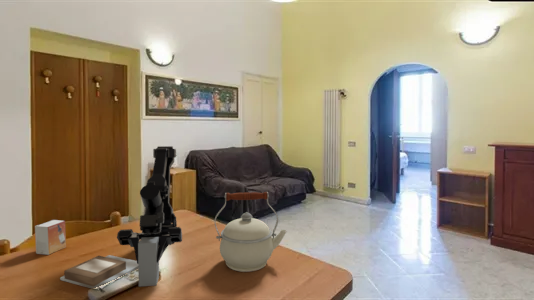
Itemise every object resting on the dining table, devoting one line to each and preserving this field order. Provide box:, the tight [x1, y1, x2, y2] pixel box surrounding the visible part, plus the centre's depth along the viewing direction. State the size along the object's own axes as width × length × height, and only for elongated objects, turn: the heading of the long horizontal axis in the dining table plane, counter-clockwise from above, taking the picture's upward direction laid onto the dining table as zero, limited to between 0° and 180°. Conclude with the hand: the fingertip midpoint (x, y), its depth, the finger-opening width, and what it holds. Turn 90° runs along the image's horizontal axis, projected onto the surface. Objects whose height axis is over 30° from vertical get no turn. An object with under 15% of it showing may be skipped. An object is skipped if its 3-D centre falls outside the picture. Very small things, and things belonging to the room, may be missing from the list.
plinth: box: [59, 254, 138, 290], centre depth 102 cm, size 18×16×4 cm
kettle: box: [214, 191, 288, 273], centre depth 109 cm, size 25×18×25 cm
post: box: [137, 237, 160, 287], centre depth 96 cm, size 5×5×13 cm
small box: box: [34, 219, 67, 256], centre depth 118 cm, size 8×6×10 cm
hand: (147, 262), depth 94 cm, fingers closed on post, 5 cm apart
